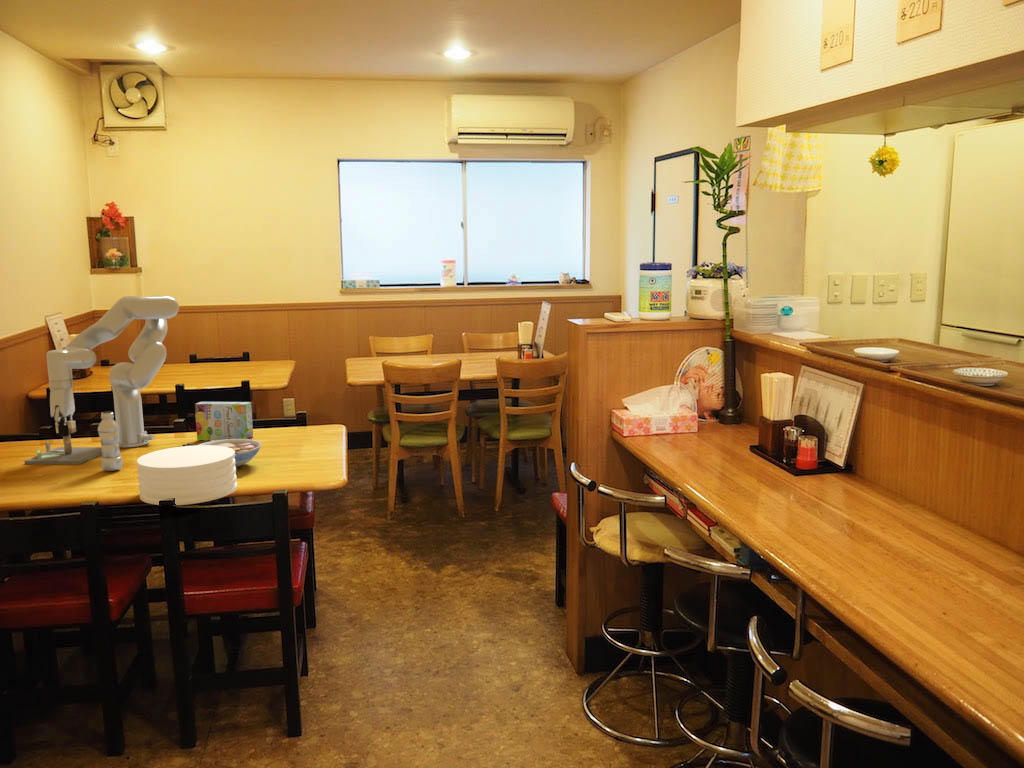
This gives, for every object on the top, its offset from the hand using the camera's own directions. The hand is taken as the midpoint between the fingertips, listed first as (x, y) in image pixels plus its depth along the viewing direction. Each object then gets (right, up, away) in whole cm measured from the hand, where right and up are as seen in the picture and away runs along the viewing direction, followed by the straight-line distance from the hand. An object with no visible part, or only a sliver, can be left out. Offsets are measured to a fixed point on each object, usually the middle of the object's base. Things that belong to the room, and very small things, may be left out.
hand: (66, 434), depth 302 cm
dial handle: (-2, -7, +1) cm, 7 cm away
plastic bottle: (+25, -11, -18) cm, 33 cm away
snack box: (+49, -4, +25) cm, 55 cm away
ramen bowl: (+63, -10, -15) cm, 66 cm away
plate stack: (+61, -15, -43) cm, 76 cm away
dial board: (0, -8, +1) cm, 8 cm away
